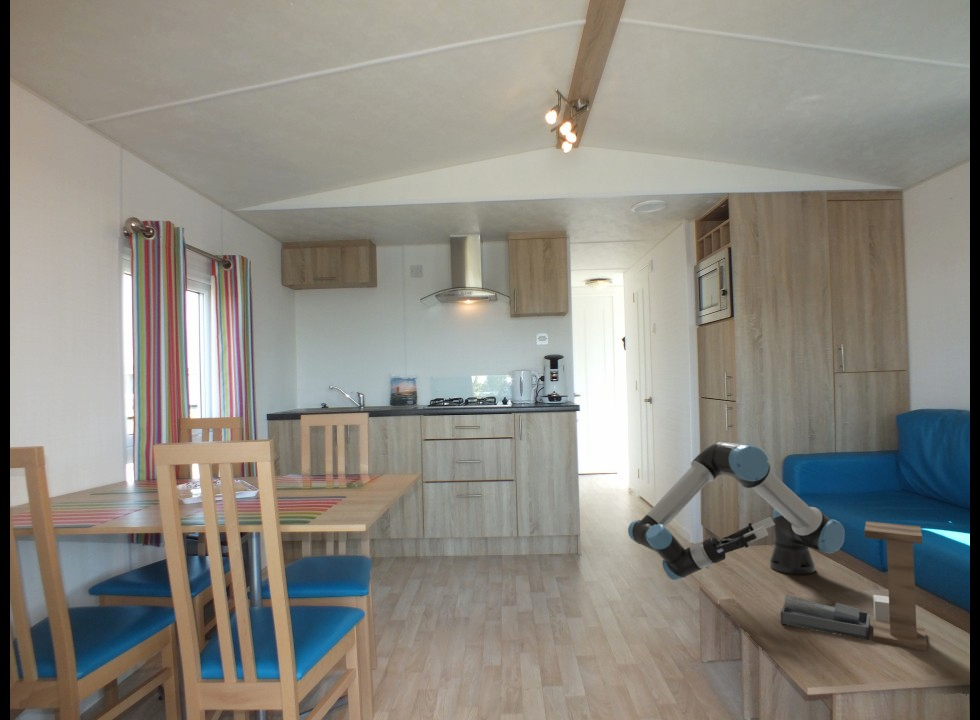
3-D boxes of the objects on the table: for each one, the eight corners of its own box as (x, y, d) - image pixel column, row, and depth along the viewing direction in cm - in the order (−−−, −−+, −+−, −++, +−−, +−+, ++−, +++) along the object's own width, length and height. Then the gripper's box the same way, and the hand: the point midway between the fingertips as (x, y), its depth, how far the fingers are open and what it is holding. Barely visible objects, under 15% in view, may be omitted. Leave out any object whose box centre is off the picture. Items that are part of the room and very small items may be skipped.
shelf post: (870, 624, 178) (866, 521, 179) (924, 634, 171) (920, 526, 172) (868, 640, 168) (864, 530, 169) (926, 651, 161) (922, 536, 162)
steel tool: (786, 602, 188) (787, 589, 188) (857, 622, 178) (859, 608, 178) (783, 609, 182) (784, 596, 182) (857, 631, 172) (859, 617, 172)
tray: (786, 610, 190) (786, 599, 191) (870, 624, 178) (869, 612, 179) (781, 624, 180) (780, 612, 181) (868, 640, 168) (868, 627, 168)
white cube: (897, 617, 183) (896, 597, 183) (899, 625, 178) (899, 604, 178) (873, 614, 186) (873, 594, 186) (875, 621, 181) (874, 601, 181)
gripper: (723, 553, 207) (781, 527, 197) (705, 574, 186) (770, 547, 176) (711, 532, 209) (768, 506, 199) (692, 551, 188) (755, 523, 178)
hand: (769, 525), depth 188 cm, fingers open, 13 cm apart
